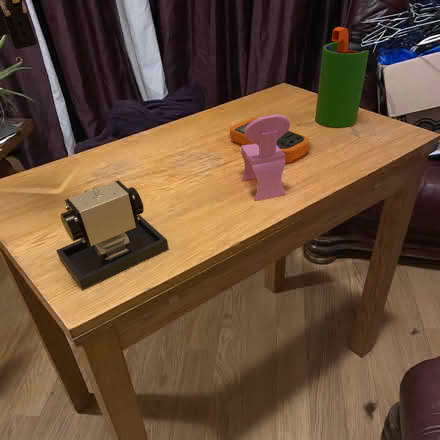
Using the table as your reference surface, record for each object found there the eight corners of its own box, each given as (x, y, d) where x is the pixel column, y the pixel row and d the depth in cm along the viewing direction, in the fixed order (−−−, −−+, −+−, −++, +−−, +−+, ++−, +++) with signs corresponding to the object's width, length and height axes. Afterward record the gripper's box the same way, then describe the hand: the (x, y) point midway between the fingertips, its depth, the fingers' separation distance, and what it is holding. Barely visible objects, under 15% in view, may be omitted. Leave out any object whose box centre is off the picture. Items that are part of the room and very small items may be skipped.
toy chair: (274, 172, 88) (277, 97, 77) (291, 193, 82) (296, 115, 71) (236, 179, 87) (233, 104, 76) (250, 202, 81) (249, 123, 70)
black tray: (82, 290, 66) (78, 280, 64) (59, 259, 71) (55, 250, 70) (168, 249, 72) (167, 239, 70) (141, 223, 78) (139, 214, 76)
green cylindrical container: (362, 118, 104) (379, 23, 90) (344, 131, 100) (359, 34, 86) (326, 109, 109) (337, 18, 95) (307, 121, 105) (315, 28, 91)
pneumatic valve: (152, 245, 72) (138, 182, 63) (87, 275, 67) (63, 210, 59) (137, 230, 75) (122, 168, 67) (74, 257, 71) (50, 194, 62)
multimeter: (286, 167, 89) (287, 151, 87) (227, 141, 99) (227, 126, 97) (312, 152, 93) (314, 137, 91) (254, 129, 103) (254, 115, 101)
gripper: (-84, -113, 56) (-25, 35, 68) (-57, -118, 46) (7, 58, 58) (-25, -117, 59) (22, 25, 71) (12, -122, 49) (60, 46, 61)
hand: (15, 40), depth 64 cm, fingers open, 9 cm apart
